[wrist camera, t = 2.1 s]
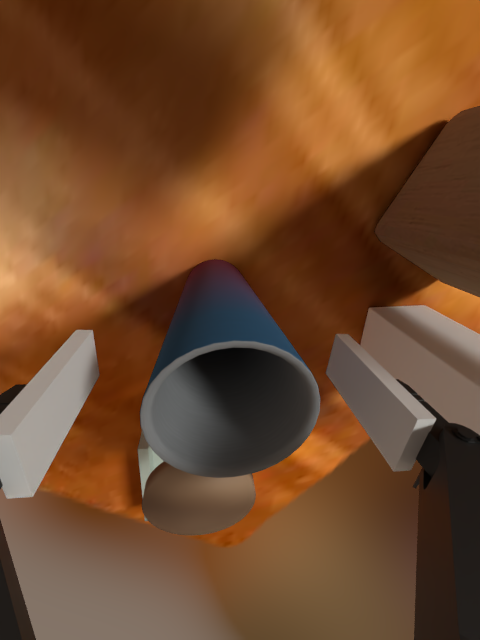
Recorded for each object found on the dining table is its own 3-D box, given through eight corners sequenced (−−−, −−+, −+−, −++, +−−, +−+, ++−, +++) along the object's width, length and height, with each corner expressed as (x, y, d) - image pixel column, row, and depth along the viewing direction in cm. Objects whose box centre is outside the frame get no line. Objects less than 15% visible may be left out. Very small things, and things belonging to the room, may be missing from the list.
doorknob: (164, 351, 26) (137, 468, 15) (237, 352, 27) (261, 461, 16) (166, 408, 29) (145, 539, 18) (232, 406, 30) (249, 530, 19)
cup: (165, 309, 24) (119, 464, 11) (190, 235, 22) (172, 313, 8) (236, 332, 26) (273, 488, 12) (267, 266, 23) (354, 371, 10)
